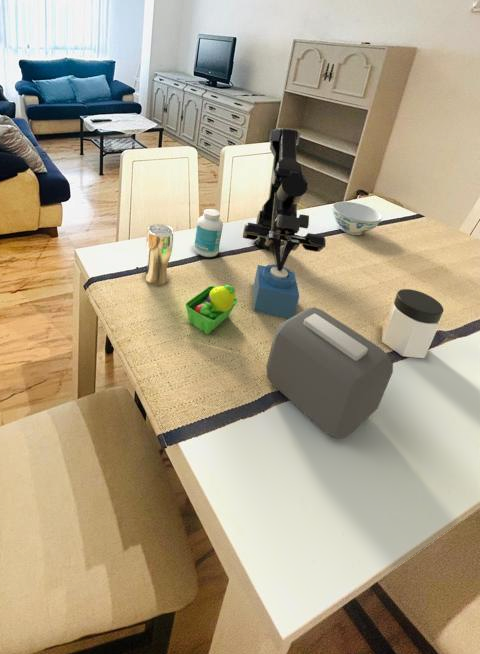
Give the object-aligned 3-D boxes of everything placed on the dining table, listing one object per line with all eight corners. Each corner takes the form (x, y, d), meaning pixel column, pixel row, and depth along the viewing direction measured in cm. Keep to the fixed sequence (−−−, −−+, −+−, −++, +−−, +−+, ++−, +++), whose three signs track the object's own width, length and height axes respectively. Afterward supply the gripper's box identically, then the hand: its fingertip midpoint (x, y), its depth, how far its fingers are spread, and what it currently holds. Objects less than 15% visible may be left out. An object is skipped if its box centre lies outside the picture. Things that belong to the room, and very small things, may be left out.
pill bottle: (218, 260, 114) (225, 219, 109) (193, 256, 116) (199, 216, 111) (217, 247, 121) (224, 208, 116) (193, 243, 122) (199, 205, 117)
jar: (434, 352, 84) (454, 309, 80) (413, 364, 81) (432, 319, 77) (392, 325, 92) (409, 284, 87) (371, 335, 88) (387, 292, 84)
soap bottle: (253, 286, 103) (259, 258, 100) (288, 294, 101) (296, 265, 98) (253, 310, 94) (260, 280, 91) (293, 319, 92) (301, 289, 89)
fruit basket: (208, 300, 97) (214, 262, 93) (240, 319, 91) (248, 280, 87) (181, 322, 89) (186, 282, 85) (214, 344, 84) (221, 302, 79)
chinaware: (385, 242, 129) (392, 222, 126) (341, 240, 129) (347, 219, 126) (360, 221, 143) (365, 202, 140) (319, 219, 143) (325, 200, 140)
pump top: (268, 272, 97) (270, 265, 96) (285, 275, 96) (287, 268, 95) (269, 281, 94) (271, 274, 93) (287, 285, 93) (288, 278, 92)
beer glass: (172, 275, 106) (177, 227, 101) (163, 289, 100) (169, 239, 95) (148, 268, 109) (152, 221, 103) (139, 281, 103) (143, 232, 97)
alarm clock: (372, 420, 69) (400, 354, 63) (337, 453, 63) (364, 383, 57) (292, 356, 82) (309, 296, 76) (257, 379, 76) (272, 316, 70)
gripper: (251, 193, 95) (243, 254, 89) (334, 206, 90) (331, 272, 84) (246, 209, 105) (238, 265, 99) (320, 221, 100) (317, 281, 94)
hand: (279, 270), depth 94 cm, fingers closed, pressing on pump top
